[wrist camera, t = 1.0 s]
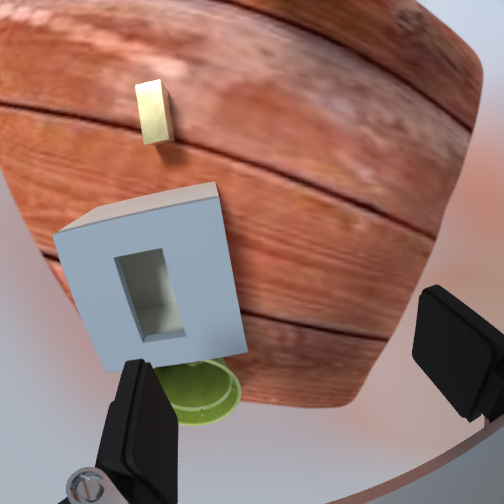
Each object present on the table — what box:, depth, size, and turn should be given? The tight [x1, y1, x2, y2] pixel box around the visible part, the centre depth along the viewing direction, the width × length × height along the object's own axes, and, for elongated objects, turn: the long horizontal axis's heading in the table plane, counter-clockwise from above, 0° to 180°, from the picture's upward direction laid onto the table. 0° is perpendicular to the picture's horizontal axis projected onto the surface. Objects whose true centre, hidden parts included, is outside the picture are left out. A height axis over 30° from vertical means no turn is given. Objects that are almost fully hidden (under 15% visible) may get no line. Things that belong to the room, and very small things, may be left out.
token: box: [135, 80, 175, 145], centre depth 24 cm, size 5×2×5 cm, turn 8°
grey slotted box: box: [53, 181, 248, 372], centre depth 25 cm, size 12×12×10 cm
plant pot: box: [153, 357, 241, 426], centre depth 30 cm, size 9×9×9 cm
